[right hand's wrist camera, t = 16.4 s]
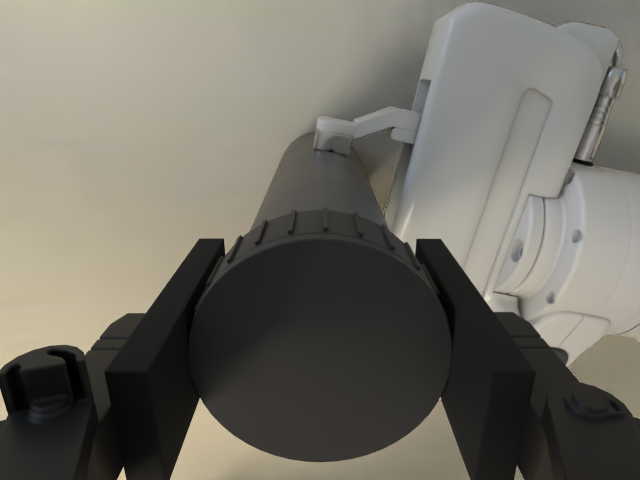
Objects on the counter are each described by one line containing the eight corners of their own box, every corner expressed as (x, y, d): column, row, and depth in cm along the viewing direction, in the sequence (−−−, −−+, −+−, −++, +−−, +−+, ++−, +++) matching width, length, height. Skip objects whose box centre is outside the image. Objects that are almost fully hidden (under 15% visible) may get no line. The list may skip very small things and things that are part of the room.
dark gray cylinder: (367, 204, 29) (440, 413, 11) (289, 219, 30) (242, 445, 12) (353, 124, 28) (415, 223, 10) (270, 141, 28) (182, 267, 10)
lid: (408, 177, 11) (428, 200, 9) (452, 380, 13) (476, 435, 11) (170, 241, 11) (139, 277, 9) (249, 425, 13) (237, 486, 11)
